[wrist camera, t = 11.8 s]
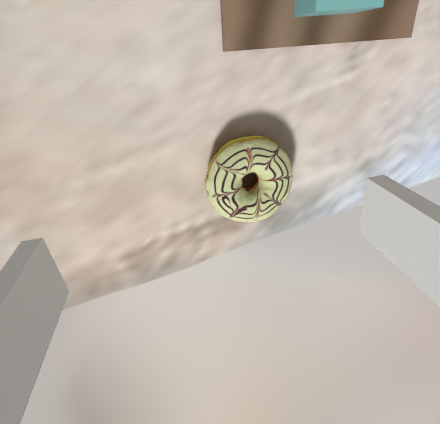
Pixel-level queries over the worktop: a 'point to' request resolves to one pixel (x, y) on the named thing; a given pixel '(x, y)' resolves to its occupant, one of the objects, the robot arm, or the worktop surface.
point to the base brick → (333, 7)
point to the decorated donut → (242, 165)
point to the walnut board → (309, 24)
